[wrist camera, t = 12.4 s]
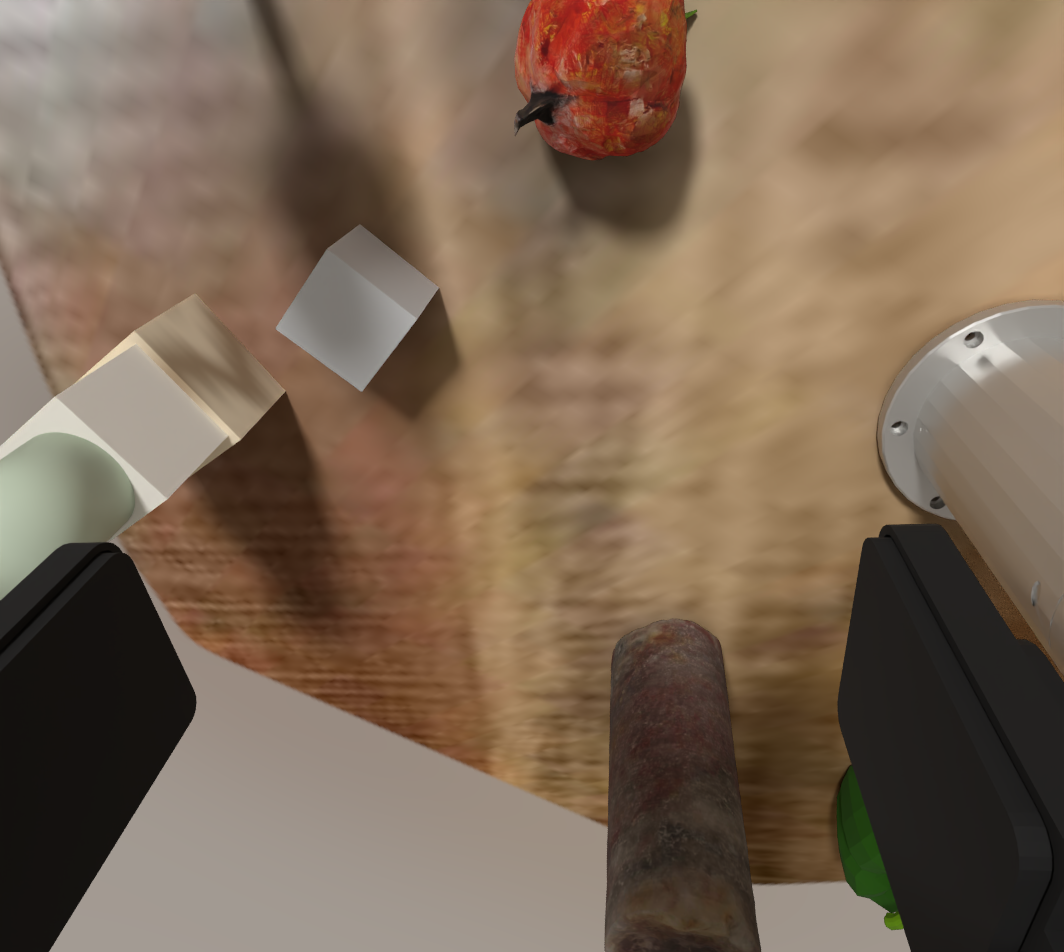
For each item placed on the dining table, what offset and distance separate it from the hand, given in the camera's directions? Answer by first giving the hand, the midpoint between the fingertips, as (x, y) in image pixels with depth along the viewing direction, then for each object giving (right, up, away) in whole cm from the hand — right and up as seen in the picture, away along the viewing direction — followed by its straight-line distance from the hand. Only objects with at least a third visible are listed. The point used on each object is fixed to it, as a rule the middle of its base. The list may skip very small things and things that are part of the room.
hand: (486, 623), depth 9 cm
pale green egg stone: (-20, +2, +23) cm, 30 cm away
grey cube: (-8, +12, +30) cm, 33 cm away
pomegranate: (+4, +21, +23) cm, 31 cm away
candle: (+10, -10, +41) cm, 43 cm away
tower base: (-19, +8, +33) cm, 39 cm away
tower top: (-19, +5, +28) cm, 34 cm away
